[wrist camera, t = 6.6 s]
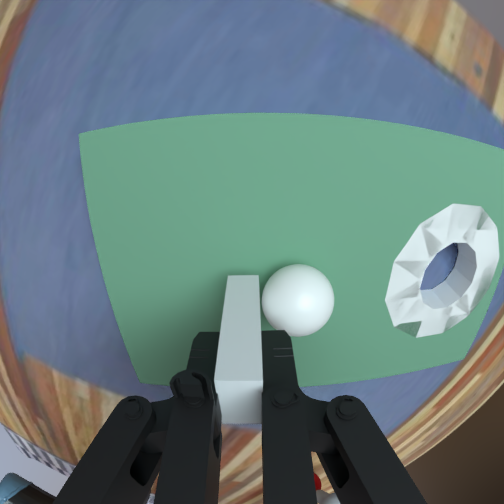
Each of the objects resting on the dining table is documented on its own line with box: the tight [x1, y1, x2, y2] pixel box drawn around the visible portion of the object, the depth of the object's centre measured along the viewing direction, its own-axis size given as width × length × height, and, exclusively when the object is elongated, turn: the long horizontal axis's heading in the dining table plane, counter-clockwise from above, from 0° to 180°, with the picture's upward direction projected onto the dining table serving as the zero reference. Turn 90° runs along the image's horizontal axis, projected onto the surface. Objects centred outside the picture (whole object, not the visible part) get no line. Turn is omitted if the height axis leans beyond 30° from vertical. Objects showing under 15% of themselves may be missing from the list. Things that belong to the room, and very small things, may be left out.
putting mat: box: [79, 113, 504, 387], centre depth 17 cm, size 28×18×2 cm, turn 91°
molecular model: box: [314, 473, 340, 504], centre depth 28 cm, size 18×6×10 cm, turn 151°
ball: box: [262, 264, 334, 337], centre depth 14 cm, size 4×4×4 cm
